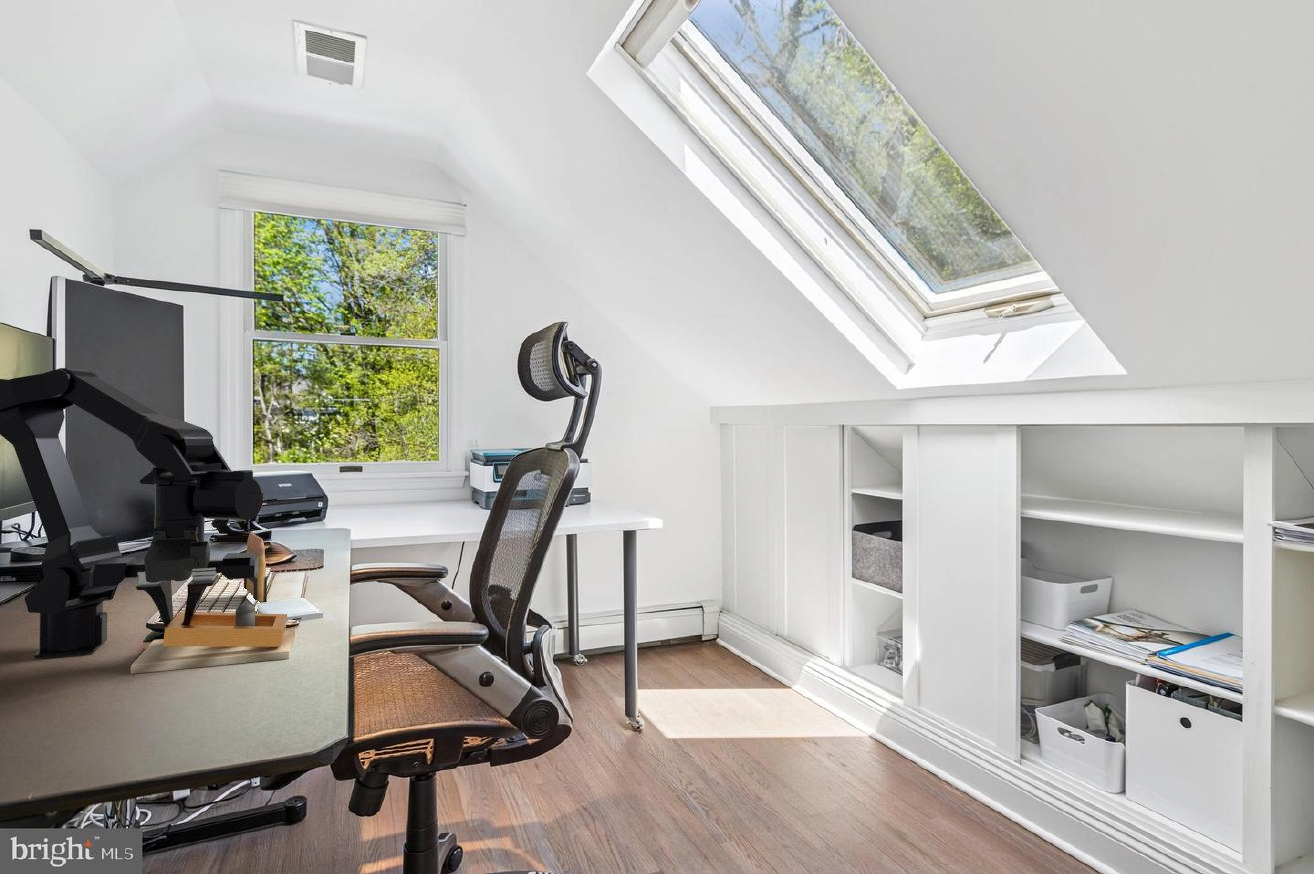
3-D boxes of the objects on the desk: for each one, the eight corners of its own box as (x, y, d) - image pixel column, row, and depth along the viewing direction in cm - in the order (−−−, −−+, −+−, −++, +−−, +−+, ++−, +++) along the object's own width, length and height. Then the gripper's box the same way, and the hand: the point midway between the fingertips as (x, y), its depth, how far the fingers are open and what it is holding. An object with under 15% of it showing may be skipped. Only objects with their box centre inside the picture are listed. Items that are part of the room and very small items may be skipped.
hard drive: (252, 603, 123) (268, 618, 114) (304, 597, 129) (323, 611, 119) (252, 613, 123) (268, 629, 114) (304, 606, 129) (323, 621, 119)
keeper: (130, 673, 91) (131, 621, 91) (153, 646, 102) (154, 600, 102) (289, 658, 98) (289, 609, 98) (294, 634, 109) (295, 591, 109)
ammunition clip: (266, 605, 126) (268, 538, 126) (255, 607, 125) (256, 539, 125) (254, 594, 134) (255, 531, 134) (243, 595, 133) (244, 531, 133)
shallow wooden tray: (162, 646, 93) (165, 627, 93) (177, 628, 101) (179, 611, 101) (280, 646, 99) (282, 629, 99) (285, 630, 107) (287, 614, 107)
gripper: (75, 527, 86) (73, 655, 87) (250, 523, 94) (248, 640, 94) (103, 517, 97) (101, 631, 97) (259, 513, 104) (257, 619, 104)
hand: (178, 631), depth 98 cm, fingers closed on shallow wooden tray, 1 cm apart
